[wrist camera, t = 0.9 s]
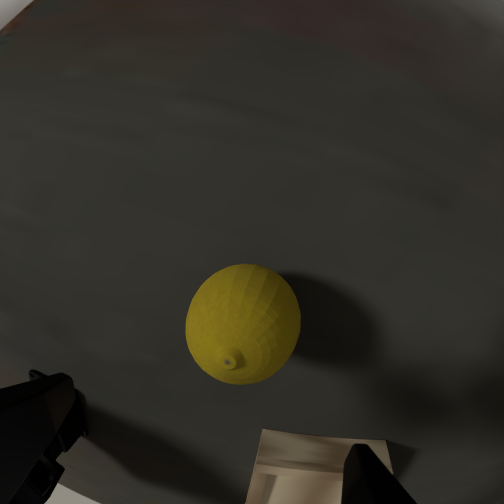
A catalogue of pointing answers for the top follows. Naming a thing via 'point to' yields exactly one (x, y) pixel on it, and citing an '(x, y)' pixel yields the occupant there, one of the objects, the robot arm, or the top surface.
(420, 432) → the top surface
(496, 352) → the top surface
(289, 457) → the wooden serving tray
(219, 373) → the lemon
